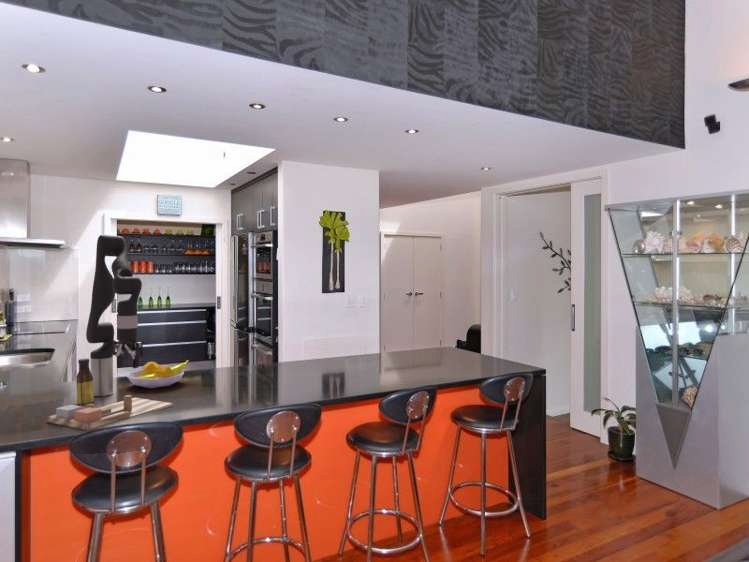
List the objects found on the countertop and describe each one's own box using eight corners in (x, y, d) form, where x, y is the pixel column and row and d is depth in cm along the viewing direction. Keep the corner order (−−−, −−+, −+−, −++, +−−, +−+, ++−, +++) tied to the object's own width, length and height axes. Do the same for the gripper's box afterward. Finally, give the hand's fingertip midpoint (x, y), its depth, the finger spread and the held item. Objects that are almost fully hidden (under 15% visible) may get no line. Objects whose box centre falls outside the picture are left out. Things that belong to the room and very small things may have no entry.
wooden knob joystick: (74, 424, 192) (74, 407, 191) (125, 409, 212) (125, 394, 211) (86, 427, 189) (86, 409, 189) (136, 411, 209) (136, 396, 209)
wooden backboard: (47, 424, 195) (47, 416, 195) (135, 399, 232) (135, 393, 232) (87, 432, 186) (87, 424, 186) (172, 405, 223) (172, 398, 223)
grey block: (56, 421, 196) (56, 408, 195) (87, 412, 208) (87, 400, 207) (67, 423, 193) (67, 410, 193) (99, 414, 205) (98, 402, 205)
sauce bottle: (96, 403, 225) (96, 357, 224) (89, 407, 219) (89, 360, 218) (81, 403, 225) (81, 357, 224) (73, 407, 218) (73, 360, 218)
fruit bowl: (123, 392, 244) (122, 368, 244) (133, 380, 270) (133, 358, 270) (186, 389, 251) (186, 366, 251) (190, 377, 278) (190, 356, 277)
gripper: (148, 326, 209) (148, 367, 209) (122, 324, 214) (122, 364, 215) (132, 328, 202) (132, 370, 202) (106, 326, 207) (106, 367, 208)
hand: (127, 367), depth 208 cm, fingers open, 8 cm apart
